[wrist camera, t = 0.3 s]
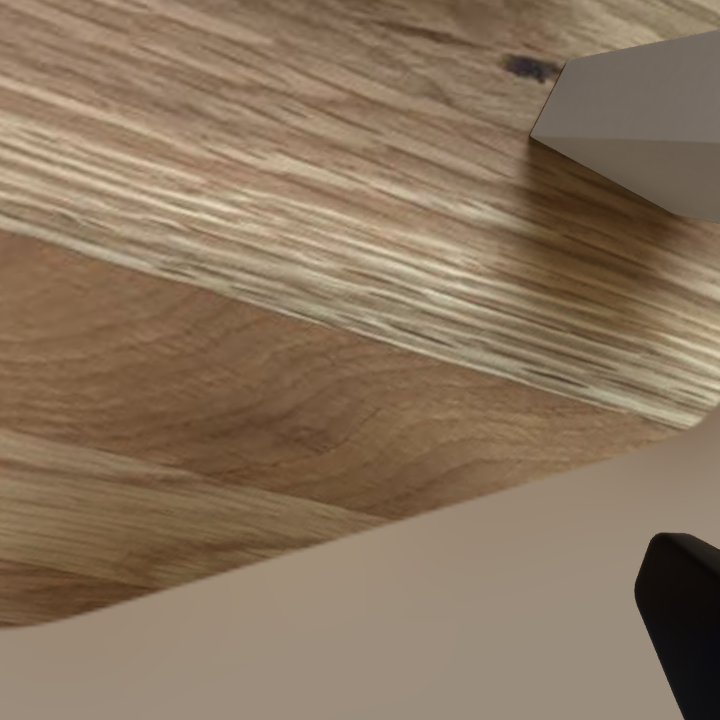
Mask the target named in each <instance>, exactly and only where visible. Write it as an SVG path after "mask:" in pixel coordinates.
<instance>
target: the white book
mask: <svg viewBox="0 0 720 720" xmlns="http://www.w3.org/2000/svg"><path fill="white" fill-rule="evenodd" d="M530 136H531V137H532V138H534V139H536V140H537V141H539V142H541V143H543V144H545V145H547V146H548V147H550V148H552V149H554V150H556V151H558V152H560V153H561V154H563V155H565V156H567V157H569V158H571V159H573V160H574V161H576V162H578V163H580V164H582V165H584V166H585V167H587V168H589V169H591V170H593V171H595V172H597V173H598V174H600V175H602V176H604V177H606V178H608V179H610V180H611V181H613V182H615V183H617V184H619V185H621V186H622V187H624V188H626V189H628V190H630V191H632V192H634V193H635V194H637V195H639V196H641V197H643V198H645V199H647V200H648V201H650V202H652V203H654V204H656V205H658V206H659V207H661V208H663V209H665V210H667V211H669V212H671V213H672V214H675V215H680V216H685V217H689V218H694V219H699V220H703V221H708V222H712V223H717V224H720V29H718V30H713V31H708V32H703V33H698V34H694V35H689V36H684V37H679V38H674V39H669V40H664V41H659V42H654V43H649V44H644V45H639V46H634V47H629V48H624V49H619V50H614V51H609V52H604V53H600V54H595V55H590V56H585V57H580V58H575V59H570V60H568V61H567V63H566V65H565V67H564V69H563V71H562V73H561V75H560V77H559V79H558V81H557V83H556V85H555V87H554V89H553V91H552V93H551V95H550V97H549V99H548V101H547V103H546V105H545V107H544V109H543V111H542V113H541V114H540V116H539V118H538V120H537V122H536V124H535V126H534V128H533V130H532V132H531V134H530Z"/></svg>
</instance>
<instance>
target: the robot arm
mask: <svg viewBox="0 0 720 720" xmlns="http://www.w3.org/2000/svg"><path fill="white" fill-rule="evenodd" d="M634 592H635V600H636V604H637V607H638V609H639V611H640V614H641V616H642V619H643V621H644V624H645V626H646V628H647V631H648V633H649V636H650V638H651V640H652V643H653V646H654V648H655V650H656V653H657V655H658V658H659V660H660V663H661V665H662V668H663V670H664V672H665V675H666V677H667V680H668V682H669V685H670V687H671V690H672V692H673V694H674V697H675V699H676V702H677V704H678V706H679V708H680V710H681V713H682V715H683V717H684V720H720V550H719V549H717V548H715V547H714V546H712V545H710V544H708V543H706V542H704V541H702V540H700V539H698V538H696V537H694V536H692V535H690V534H686V533H659V534H656V535H655V536H654V537H653V538H652V539H651V541H650V543H649V546H648V548H647V551H646V554H645V557H644V560H643V562H642V565H641V568H640V571H639V574H638V576H637V579H636V582H635V589H634Z"/></svg>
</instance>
